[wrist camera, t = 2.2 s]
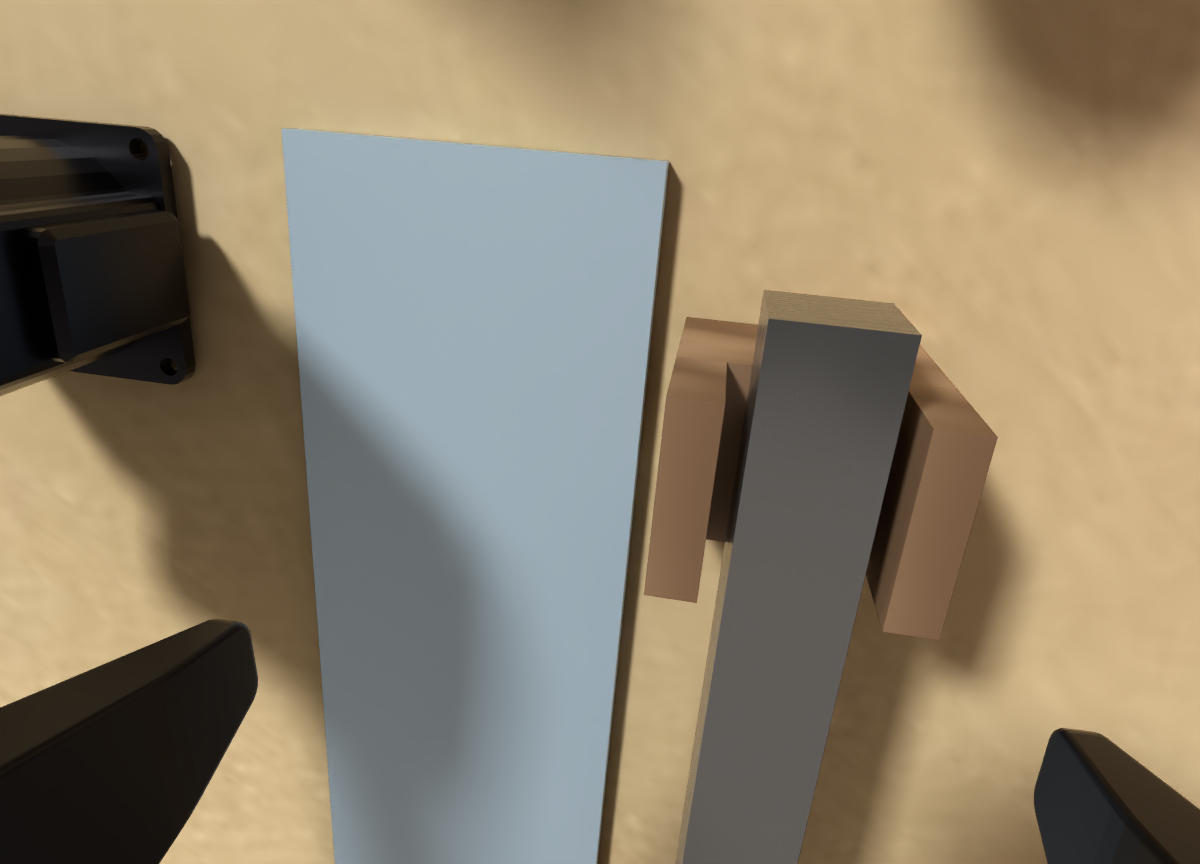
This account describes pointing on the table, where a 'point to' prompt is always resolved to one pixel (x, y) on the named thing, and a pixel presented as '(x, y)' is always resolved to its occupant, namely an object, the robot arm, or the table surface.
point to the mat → (470, 480)
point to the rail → (793, 567)
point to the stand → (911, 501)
